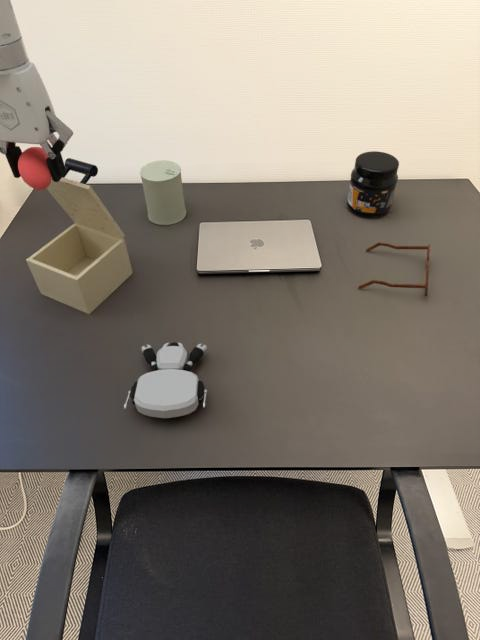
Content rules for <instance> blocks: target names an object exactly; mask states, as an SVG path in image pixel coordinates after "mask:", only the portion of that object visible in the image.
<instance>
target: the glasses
mask: <svg viewBox="0 0 480 640" xmlns="http://www.w3.org/2000/svg"><path fill="white" fill-rule="evenodd" d="M381 246H382V247H387V248H391V249H394V250H426V265H425V269H426V272H425V284H414V283H413V284H411V283H391V282H388V281H383V280H376V279H372V280H369V281H367V282H365V283H362V284H360V285H358V289H359V290H361V289H364V288H366V287H369V286H371V285H374V284H376V285H382V286H386V287H389V288H400V289H401V288H403V289H404V288H405V289H424V296H426V297H427V296H428V290H429V289H428V288H429V272H430V271H429V270H430V269H429V268H430V253H431V252H430V251H431V250H430V249H431V245H430V244H427V245H394V244H391V243H388V242H387V243H385V242H377V243H374V244H373V245H371V246H369V247H368V248H366V249H365V251H366V253H369V252H371V251H373V250H375V249H376V248H378V247H381Z"/></svg>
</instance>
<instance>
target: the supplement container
mask: <svg viewBox="0 0 480 640" xmlns="http://www.w3.org/2000/svg"><path fill="white" fill-rule="evenodd" d="M399 167H400V161H399V160H398V159H397V157H395V156H394V155H392V154H390V153H387V152H384V151H377V150H376V151H375V150H372V151H366V152H362V153H360V154H359V155H357V156H356V158H355V161H354V167H353V169H352V170H351V172H350V181H349V187H348V193H347V198H346V206H347V208H348V210H349V211H351V212H352V213H353V214H354V215H357V216H359V217H362V218H368V219H369V218H371V219H373V218H381V217H383V216H384V215H386V214H388V213H389V212H390V210H391V208H392V203H393V199H394V195H395V191H396V186H397V183H398V181H399V174H398V172H399Z"/></svg>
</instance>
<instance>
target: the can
mask: <svg viewBox="0 0 480 640" xmlns="http://www.w3.org/2000/svg"><path fill="white" fill-rule="evenodd" d="M181 168H182V167H181V165H180V164H178V163H176V162H174V161H171V160H156V161H155V160H154V161H152V162H149V163H147V164H145V165H143V166H142V167H141V168H140V171H139V175H140V179H141V184H142V189H143V194H144V199H145V204H146V205H145V206H146V210H147V211H146V212H147V219H148V220H149V221H150V222H151V223H152V224H155V225H158V226H172V225H175V224H178V223H180V222H181V221H182V220H184V219H185V217H186V216H187V209H186V205H185V197H184V188H183V179H182V169H181Z"/></svg>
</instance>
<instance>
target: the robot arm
mask: <svg viewBox="0 0 480 640" xmlns="http://www.w3.org/2000/svg"><path fill="white" fill-rule="evenodd" d="M49 95H50V94H49V93H48V91H47V88H46V86H45V83H44V81H43V78H42V77H41V74H40V72H39V70H38V69H37V67H36V65H35V63H34V62H31V61H30V59H29V54H28V52H27V49H26V45H25V43H24V39H23V36H22V33H21V30H20V26H19V24H18V20H17V18H16V14H15V11H14V8H13V4H12V1H11V0H0V154H2V155H5V158H6V161H7V163H8V166H9V168H10V171H11V173H12V175H13V177H14V178H15V179H19V178H21V176H20V173H19V169H18V160H19V157H20V155H21V154H22V152H23V151H22V149H21V147H20V146H19V145H16V144H28V145H39V147H41V148H43V150H44V151H45V153H46V154H47V155H48V158H47V159H46V162H47V165H48V168H49V171H50V174H51V177H52V180H53V181H54V182H59V180H60V179H61V178H62V177H63V176H64V175H65V174H66V168H65V161H64V159H63V156H62V152H63V150H64V149H65V147H66V146H67V144H68V142H69V141H70V140H71V138H72V137H73V135H74V131H73V130H72V129H71V128H70V127H69V126H68V125H67V124H65V123H64V122H63V121H62V120H61V119H60V118H59V117H57V115H56V113H55V109H54V106H53V104H52V100H51V98H50V96H49ZM55 133H57V134H58V137H57V136H56V135H55Z"/></svg>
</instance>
